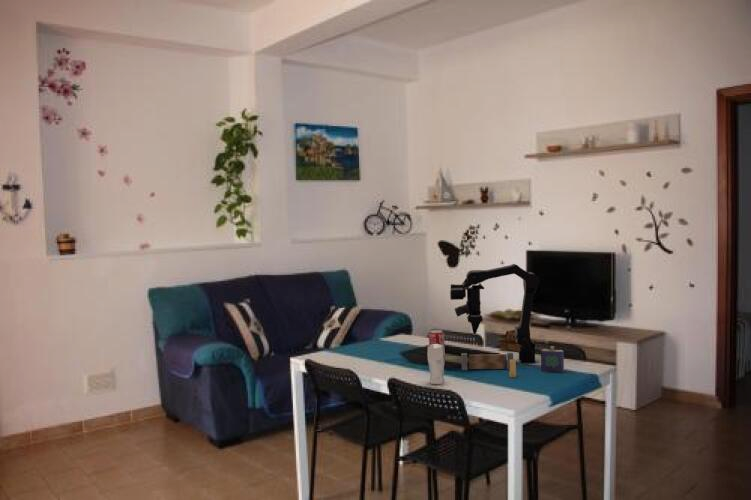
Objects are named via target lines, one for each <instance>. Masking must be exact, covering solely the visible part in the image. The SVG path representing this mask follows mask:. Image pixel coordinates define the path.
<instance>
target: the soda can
mask: <svg viewBox="0 0 751 500" xmlns="http://www.w3.org/2000/svg"><path fill="white" fill-rule="evenodd" d="M431 344H441V345H444V351H445V334H444V331H443V330H442V329H433V330H430V332H429V336H428V345H431ZM445 352H446V351H445Z"/></svg>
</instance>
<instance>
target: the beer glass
mask: <svg viewBox="0 0 751 500" xmlns="http://www.w3.org/2000/svg"><path fill="white" fill-rule="evenodd" d="M444 346H445V344H444V345H441V344H431V345H429V344H428V345H427V354H426V355H427V363H428V369H429V383H430V384H431V385H434V386H435V385H443V384H445V377H444V367H445V363H446V355H445V352H446V351H444Z"/></svg>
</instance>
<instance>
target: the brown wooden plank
mask: <svg viewBox="0 0 751 500" xmlns="http://www.w3.org/2000/svg"><path fill="white" fill-rule="evenodd" d="M468 368H469V369H468V370H501V369H502V370H508V369H507V353H503V354H501V353H500V354H499V353H497V354H496V353H495V354H491V353H490V354H488V353H487V354H485V353H484V354H469V355H468Z"/></svg>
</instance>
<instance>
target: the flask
mask: <svg viewBox="0 0 751 500" xmlns="http://www.w3.org/2000/svg"><path fill="white" fill-rule="evenodd" d="M564 355H565V354H564V350H562V349H555V346H552V345H551V346H550V348H544V349H541V350H540V371H541V372H543V373H564V371H565V362H564V360H565V357H564Z"/></svg>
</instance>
